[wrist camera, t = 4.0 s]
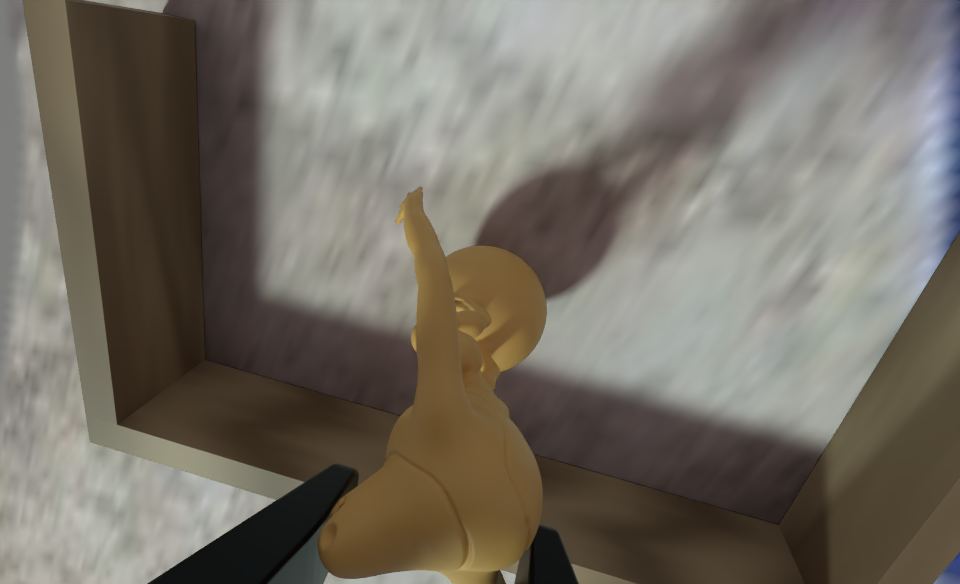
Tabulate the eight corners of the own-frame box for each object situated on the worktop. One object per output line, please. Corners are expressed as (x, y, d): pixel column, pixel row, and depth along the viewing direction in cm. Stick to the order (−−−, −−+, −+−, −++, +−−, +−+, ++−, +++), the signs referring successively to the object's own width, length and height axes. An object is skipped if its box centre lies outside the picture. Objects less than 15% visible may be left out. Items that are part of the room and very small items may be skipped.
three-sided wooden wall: (1026, 206, 14) (1209, 257, 10) (796, 555, 20) (852, 678, 16) (160, 12, 16) (21, -10, 12) (180, 375, 22) (90, 441, 18)
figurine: (428, 178, 17) (20, 263, 7) (608, 148, 15) (429, 204, 4) (470, 398, 19) (210, 735, 9) (634, 402, 17) (555, 867, 6)
